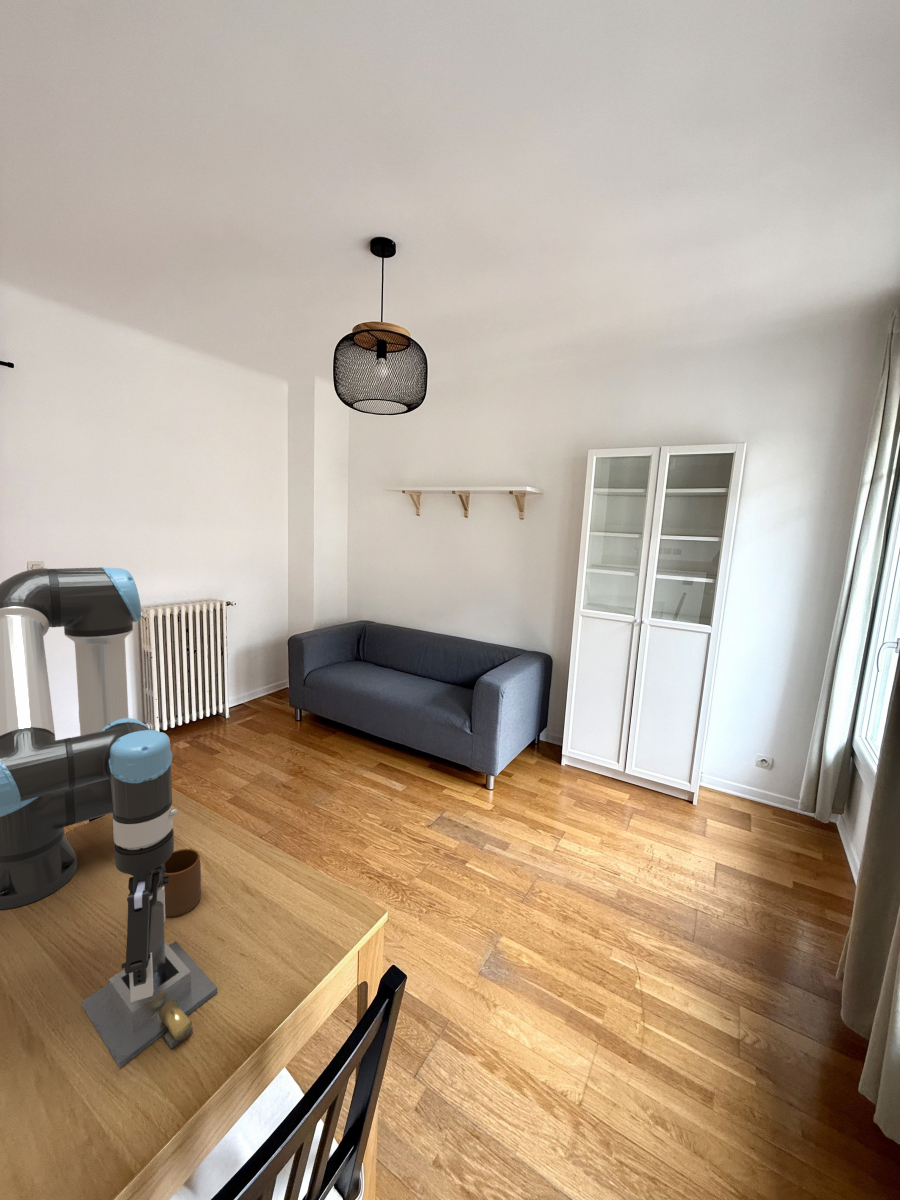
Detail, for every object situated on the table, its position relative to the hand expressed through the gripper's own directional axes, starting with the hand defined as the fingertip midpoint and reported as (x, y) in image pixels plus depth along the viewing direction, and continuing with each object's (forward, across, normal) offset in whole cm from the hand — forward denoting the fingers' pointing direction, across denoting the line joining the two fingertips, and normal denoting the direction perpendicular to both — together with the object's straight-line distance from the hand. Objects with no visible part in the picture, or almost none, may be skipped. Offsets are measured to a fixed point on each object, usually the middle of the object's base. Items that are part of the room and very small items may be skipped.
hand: (149, 957), depth 75 cm
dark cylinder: (+7, 0, 0) cm, 7 cm away
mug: (+8, +20, 0) cm, 21 cm away
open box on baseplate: (+8, -2, -1) cm, 8 cm away
